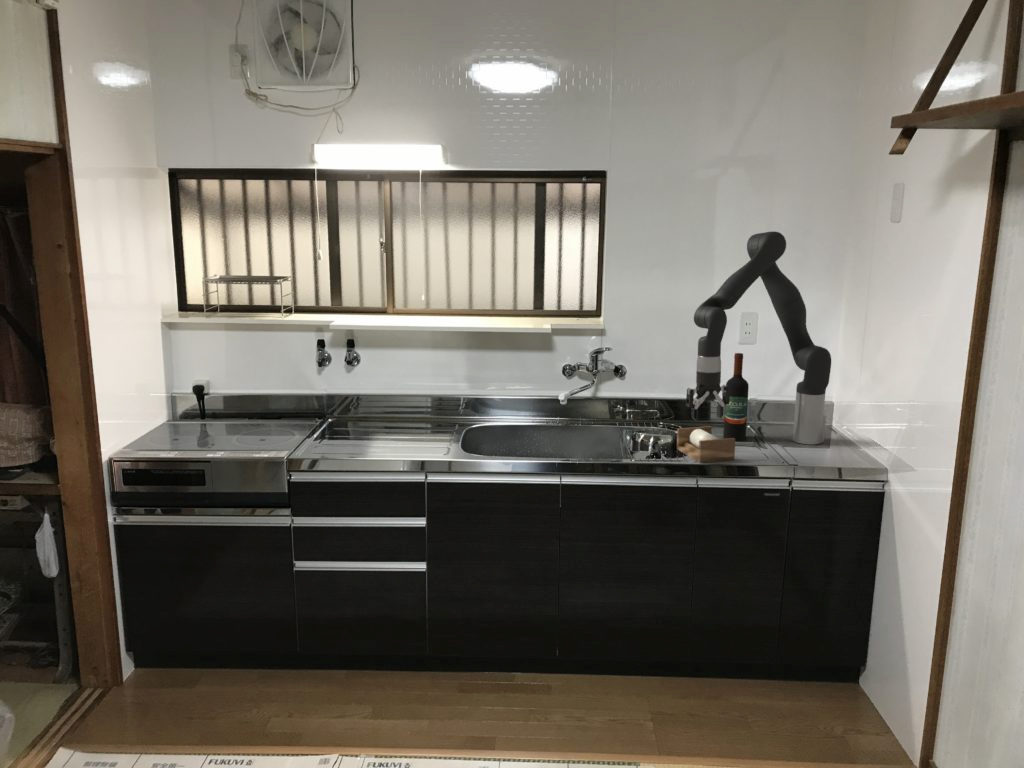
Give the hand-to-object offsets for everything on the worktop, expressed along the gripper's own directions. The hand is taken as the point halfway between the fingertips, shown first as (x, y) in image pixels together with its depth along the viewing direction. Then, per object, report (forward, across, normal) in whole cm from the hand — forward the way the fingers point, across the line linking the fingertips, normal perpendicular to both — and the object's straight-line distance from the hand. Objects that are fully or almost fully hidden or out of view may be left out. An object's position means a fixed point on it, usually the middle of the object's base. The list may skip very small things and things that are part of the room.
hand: (707, 418), depth 243 cm
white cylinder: (+10, +2, 0) cm, 10 cm away
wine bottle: (+12, -19, -14) cm, 27 cm away
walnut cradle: (+12, 0, 0) cm, 12 cm away
